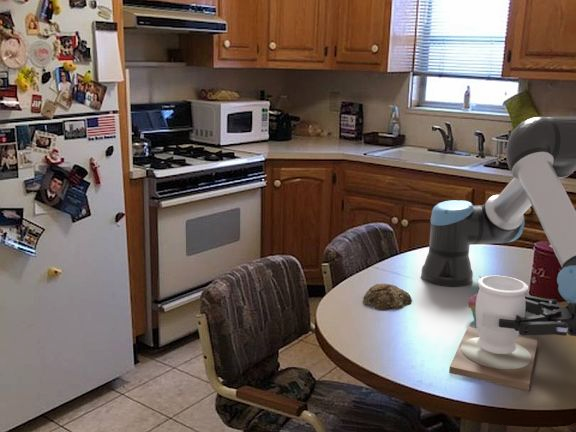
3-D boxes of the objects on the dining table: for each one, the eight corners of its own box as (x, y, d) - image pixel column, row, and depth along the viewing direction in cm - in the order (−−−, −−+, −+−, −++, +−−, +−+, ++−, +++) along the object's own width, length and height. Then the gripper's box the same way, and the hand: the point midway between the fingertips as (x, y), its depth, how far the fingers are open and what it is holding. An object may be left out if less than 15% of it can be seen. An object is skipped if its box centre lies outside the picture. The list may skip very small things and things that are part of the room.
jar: (524, 359, 132) (532, 294, 128) (474, 354, 134) (480, 290, 130) (516, 337, 142) (523, 276, 138) (470, 333, 144) (476, 272, 140)
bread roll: (378, 290, 178) (379, 273, 177) (416, 301, 171) (418, 284, 170) (353, 303, 169) (354, 286, 168) (393, 315, 161) (394, 298, 160)
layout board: (467, 332, 151) (467, 326, 151) (536, 345, 145) (537, 339, 144) (449, 372, 132) (449, 365, 132) (528, 390, 126) (529, 383, 125)
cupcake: (465, 324, 156) (469, 280, 152) (468, 312, 163) (471, 269, 160) (501, 330, 153) (506, 284, 150) (502, 316, 160) (506, 273, 157)
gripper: (599, 360, 122) (482, 347, 127) (575, 314, 143) (476, 304, 148) (604, 326, 120) (485, 313, 125) (579, 284, 141) (479, 275, 146)
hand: (480, 308), depth 136 cm, fingers closed on jar, 10 cm apart
